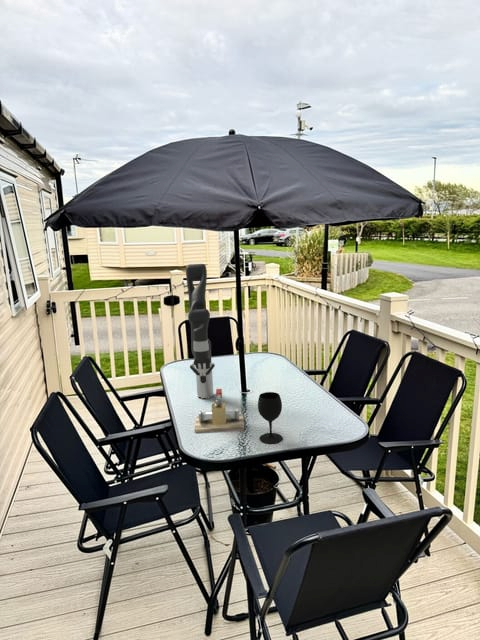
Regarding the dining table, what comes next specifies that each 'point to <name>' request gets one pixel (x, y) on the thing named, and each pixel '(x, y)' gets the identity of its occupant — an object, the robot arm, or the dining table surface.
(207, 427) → the mounting board
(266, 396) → the wine glass
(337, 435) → the dining table surface
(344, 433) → the dining table surface
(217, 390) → the lever
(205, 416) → the valve
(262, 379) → the dining table surface
